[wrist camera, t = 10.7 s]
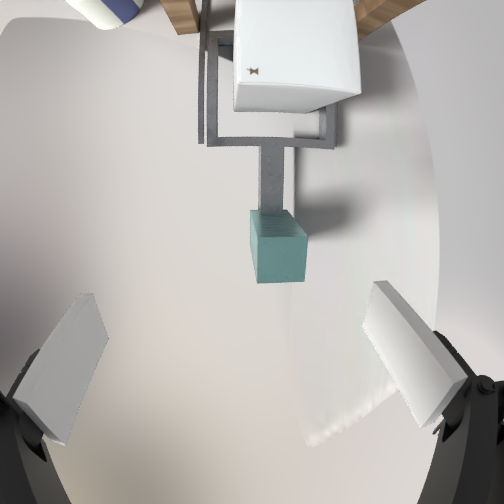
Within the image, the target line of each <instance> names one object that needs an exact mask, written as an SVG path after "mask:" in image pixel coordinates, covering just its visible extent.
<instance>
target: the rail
mask: <svg viewBox="0 0 504 504" xmlns="http://www.w3.org/2000/svg"><path fill="white" fill-rule="evenodd" d="M207 1H208V0H202V12H201V28H200V49H199V83H198V84H199V85H198V86H199V87H198V143H199V144H204V65H205V37H206V17H207ZM334 146H336V147H337V102H335V131H334Z"/></svg>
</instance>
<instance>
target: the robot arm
mask: <svg viewBox="0 0 504 504" xmlns="http://www.w3.org/2000/svg"><path fill="white" fill-rule="evenodd" d="M362 328H363V329H364V331H365V332H366V334H367V336H368V337H369V339H370V341H371V342H372V344H373V346H374V347H375V349H376V351H377V352H378V354H379V356H380V357H381V359H382V361H383V363H384V364H385V366H386V368H387V369H388V371H389V373H390V375H391V376H392V378H393V380H394V382H395V383H396V385H397V387H398V389H399V391H400V392H401V394H402V396H403V398H404V400H405V402H406V403H407V405H408V407H409V409H410V411H411V412H412V415H413V416H414V418H415V420H416V422H417V424H418V426H419V428H423V427H425V426H427V425H430V424H432V423H434V422H435V421H436V420H437V418H438V417H439V416H440V415H441V414H442V415H443V417H444V419H443V420H442V422H441V423H440V424H439V425H438V426H437V428H436V429H435V430H434V431H433V434H435V433H436V432H437V431H438V430H439V429H440V431H439V434H438V440H437V444H436V448H435V452H434V455H433V459H432V462H431V466H430V469H429V472H428V475H427V479H426V482H425V484H424V487H423V490H422V493H421V495H420V498H419V500H418V503H417V504H504V420H503V419H504V381H498V382H494V381H493V380H492V379H491V378H490V377H488V376H485V375H479V376H477V375H476V374H475V373H474V372H473V371H472V369H471V368H470V367H469V365H468V364H467V363H466V362H465V360H464V359H463V358H462V357H461V355H460V354H459V353H457V351H456V349H455V348H454V347H453V346H452V344H451V343H450V342H449V341H448V340H447V338H446V337H445V336H443V335H442V334H440V333H439V332H437V331H433V332H432V331H431V329H430V328H429V327H428V326H427V325H426V323H425V322H424V321H423V320H422V319H421V318H420V316H419V315H418V314H417V313H416V312H415V311H414V310H413V308H412V307H411V306H410V305H409V304H408V303H407V302H406V301H405V300H404V298H403V297H402V296H401V295H400V294H399V293H398V292H397V291H396V290H395V289H394V288H393V286H392V285H391V284H390V283H389V282H388V281H387V280H386V281H376V282H374V283H373V287H372V291H371V296H370V300H369V304H368V308H367V312H366V316H365V320H364V323H363V327H362ZM108 340H109V337H108V335H107V332H106V329H105V327H104V324H103V321H102V318H101V316H100V313H99V310H98V307H97V304H96V301H95V298H94V295H93V294H92V293H80V295H79V296H78V297H77V298H76V300H75V301H74V302H73V304H72V305H71V306H70V308H69V309H68V310H67V312H66V313H65V315H64V316H63V317H62V319H61V320H60V322H59V323H58V324H57V326H56V327H55V329H54V330H53V332H52V333H51V335H50V336H49V338H48V339H47V341H46V342H45V344H44V345H43V347H42V348H41V349H38V350H37V351H36V352H34V353H33V354H32V355H31V356H30V357H29V359H28V360H27V362H26V364H25V366H24V367H23V369H22V370H21V373H20V374H19V375H18V377H17V379H16V380H15V382H14V384H13V385H12V387H11V389H10V391H9V393H8V394H7V396H6V398H5V397H4V395H3V394H2V393H1V391H0V504H71V502H70V500H69V498H68V496H67V494H66V492H65V490H64V488H63V486H62V484H61V481H60V479H59V477H58V475H57V472H56V470H55V467H54V465H53V462H52V460H51V457H50V454H49V452H48V449H47V446H46V443H45V442H44V440H43V439H42V436H43V434H45V435H46V436H47V437H48V438H49V439H50V440H51V441H53V442H56V443H59V444H62V445H65V446H66V445H67V441H68V438H69V435H70V433H71V430H72V427H73V424H74V421H75V418H76V416H77V413H78V410H79V408H80V405H81V402H82V400H83V397H84V395H85V392H86V390H87V387H88V385H89V382H90V380H91V378H92V375H93V373H94V371H95V368H96V366H97V364H98V362H99V359H100V357H101V355H102V353H103V350H104V348H105V346H106V344H107V342H108Z"/></svg>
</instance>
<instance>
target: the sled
mask: <svg viewBox="0 0 504 504" xmlns="http://www.w3.org/2000/svg"><path fill="white" fill-rule="evenodd" d="M218 45H234V30H224V31H209V34H208V63H207V65H208V66H207V147H215V146H259V203H258V210H250V247H251V252H252V258H253V264H254V269H255V275H256V280H257V283H282V282H304V279H305V268H306V257H307V245H308V236H307V234H306V233H305V232H304V231H303V229H302V228H301V227H300V226H299V224H298V223H297V222H296V220H295V219H294V218H293V217H292V216H291V214H290V213H289V212H288V211H287V210H283V181H284V180H283V179H284V177H283V176H284V146H286V147H287V146H288V147H306V148H321V149H334V131H335V102H334V103H332V104H329V105H326V106H324V107H321V108H320V126H319V140H317V139H303V138H283V137H218V136H217V135H218V132H217V131H218V128H217V127H218V126H217V125H218V123H217V109H218V108H217V107H218V105H217V104H218V99H217V98H218V93H217V92H218Z"/></svg>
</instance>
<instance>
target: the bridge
mask: <svg viewBox="0 0 504 504" xmlns="http://www.w3.org/2000/svg"><path fill="white" fill-rule="evenodd" d="M424 1H426V0H361V1H360V2H359V3H358V4H357V5H355V6H354V11H355V18H356V25H357V34H358V41H359V40H361V39H362V38H364V37H365V36H367V35H368V34H370V33H371V32H373V31H374V30H376V29H377V28H379V27H380V26H382V25H384V24H385V23H387V22H389V21H390V20H392V19H393V18H395V17H396V16H399V15H400V14H402V13H404V12H405V11H407V10H409V9H411V8H413V7H414V6H416V5H418V4H420V3H422V2H424ZM160 2H161V4H162V6H163V8H164V10H165V11H166V13H167V15H168V17H169V19H170V21H171V23H172V25H173V27H174V28H175V30H176V32H177V34H178V35H181V34H191V33H198V29H199V15H198V11H197V7H196V4H195V0H160Z"/></svg>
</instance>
